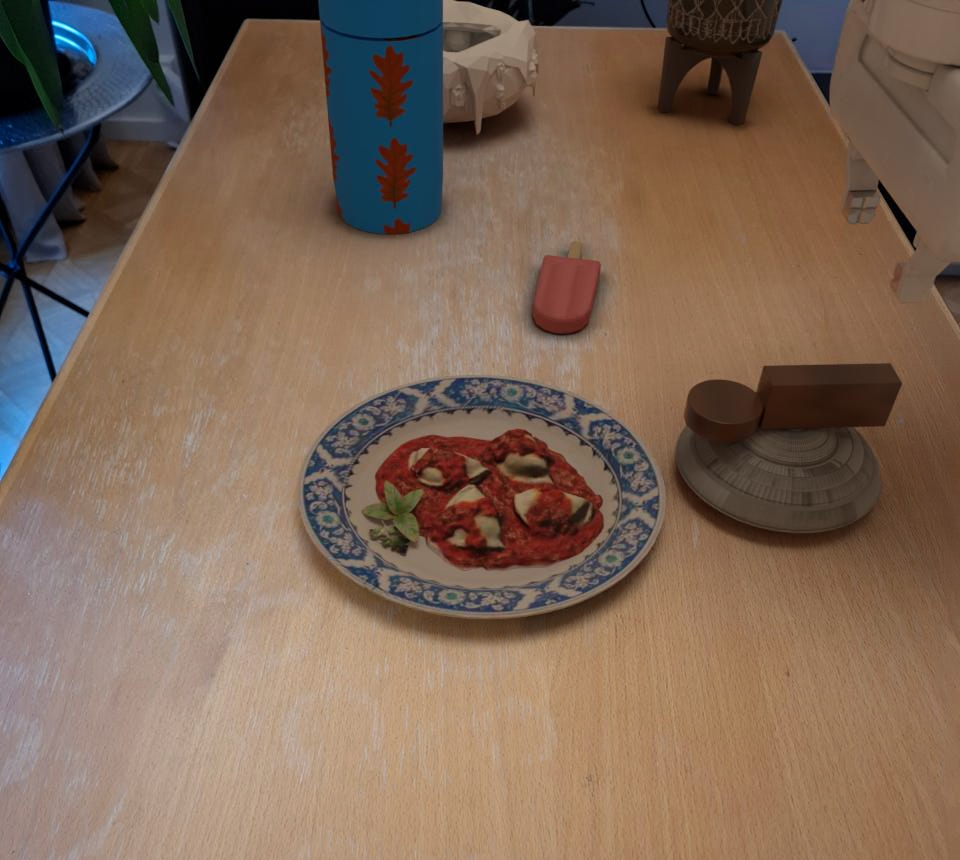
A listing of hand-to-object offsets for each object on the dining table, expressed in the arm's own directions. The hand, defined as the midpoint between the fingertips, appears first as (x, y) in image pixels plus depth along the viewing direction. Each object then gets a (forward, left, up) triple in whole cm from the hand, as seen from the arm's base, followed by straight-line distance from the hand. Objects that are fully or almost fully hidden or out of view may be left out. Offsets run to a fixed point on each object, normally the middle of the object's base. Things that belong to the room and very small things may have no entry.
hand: (879, 256), depth 61 cm
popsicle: (+14, -27, -18) cm, 35 cm away
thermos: (+30, -43, -18) cm, 55 cm away
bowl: (+23, -66, -18) cm, 72 cm away
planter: (-8, -68, -18) cm, 71 cm away
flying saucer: (+2, 0, -18) cm, 18 cm away
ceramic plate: (+24, +2, -18) cm, 30 cm away
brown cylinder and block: (+3, 0, -12) cm, 12 cm away
